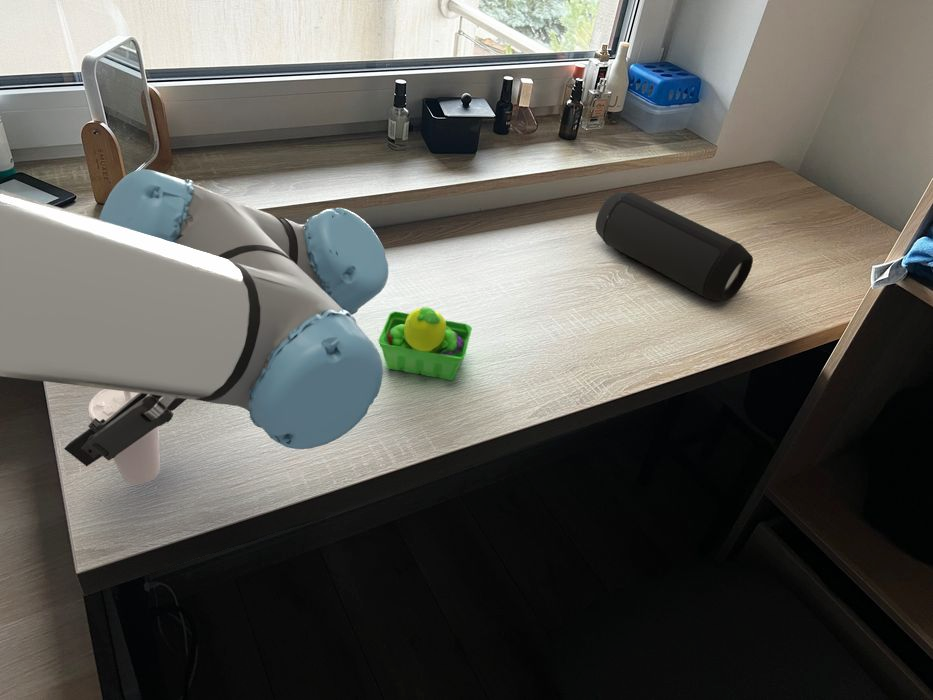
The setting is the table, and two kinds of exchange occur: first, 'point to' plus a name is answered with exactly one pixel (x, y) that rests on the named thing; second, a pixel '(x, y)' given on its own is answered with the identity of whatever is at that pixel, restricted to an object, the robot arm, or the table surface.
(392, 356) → the fruit basket
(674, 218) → the portable speaker
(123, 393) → the smoothie
